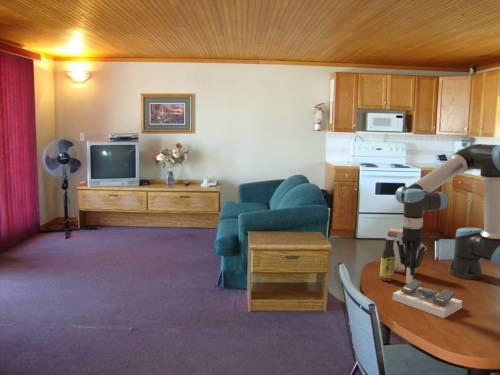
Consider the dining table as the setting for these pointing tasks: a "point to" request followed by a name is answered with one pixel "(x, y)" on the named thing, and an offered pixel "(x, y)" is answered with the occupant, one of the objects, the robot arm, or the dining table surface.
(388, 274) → the sauce bottle
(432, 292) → the switch middle
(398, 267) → the cracker box
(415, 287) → the switch
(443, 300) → the switch
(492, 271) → the dining table surface
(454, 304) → the switch panel
